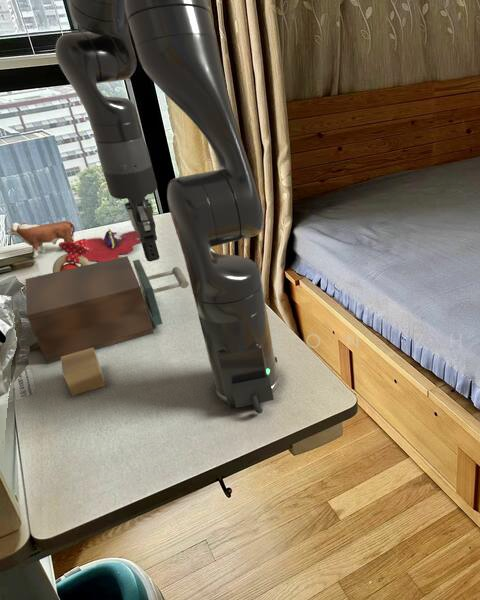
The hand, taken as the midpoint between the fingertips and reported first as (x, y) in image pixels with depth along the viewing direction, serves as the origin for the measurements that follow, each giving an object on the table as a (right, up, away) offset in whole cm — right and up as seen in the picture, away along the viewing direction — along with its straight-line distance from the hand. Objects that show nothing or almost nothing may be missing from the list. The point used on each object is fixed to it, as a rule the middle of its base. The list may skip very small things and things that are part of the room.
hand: (152, 258), depth 99 cm
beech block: (-4, -21, -14) cm, 25 cm away
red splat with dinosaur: (-24, +5, +31) cm, 39 cm away
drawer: (-5, -10, +2) cm, 12 cm away
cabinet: (-10, -13, 0) cm, 16 cm away
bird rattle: (-20, -5, +14) cm, 25 cm away
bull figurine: (-38, +3, +29) cm, 48 cm away
